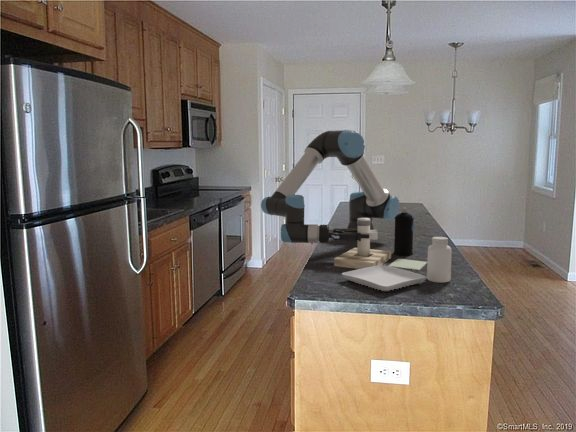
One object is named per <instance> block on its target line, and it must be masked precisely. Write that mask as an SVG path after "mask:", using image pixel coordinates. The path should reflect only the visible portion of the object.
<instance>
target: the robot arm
mask: <svg viewBox="0 0 576 432" xmlns="http://www.w3.org/2000/svg"><path fill="white" fill-rule="evenodd" d="M365 147H366V145H365V139H364V137H363V135H362V134H361V133H360V132H358V131H356V130H352V129H345V130H326V131H324V132H322V133H319V135H318V136H315V138H314V139H312V140H311V142H310V143H308V145H307V146H306V147H305V148H304V150H303V151H304V153H303V155H302V156H301V157H300V158H299V160H298V161H297V163H296V164H295V165H294V166H293V167H292V169H291V170H290V172H289V173H288V174H287V176H286V177H285V178H284V179H283V181H282V182H281V183H280V185H278V187H277V188H276V190H274V192H273V193H272V195H271V196H266V197H264V198H262V200H261V203H260V208H261V211H262V212H263V213H264V214H267V215H270V216H276V217H277V216H278V217H283V218H285V223H282V224H281V226H280V240H281V241H282V242H283V243H291V244H296V243H297V244H300V243H301V244H310V245H314V244H318V243H320V244H329V241H330V239H333V240H334V241H356V242H357V241H358V240H359V241H361V239H370V241H372V240H373V241H374V240H378V238H379V232H378V230H377V229H375V226H374V223H373V219H376V220H377V219H378V220H384V221H385V220H386V221H392V220H395V217H396V215H398V214H399V210H400V200H399V198H398V197H397V196H395V195H391V194H390V192H389V190H387V189H386V188H384V187H382V185H381V184H380V182H379V181H378V179H377V177H376V175H375V174H374V172H373V170H372V168H371V167H370V164H368V161H367V160H366V158H365V157H364V154H365V149H366V148H365ZM327 158H337V159H338V161H339V163H340V164H341V165H342V166H344V167H347V169H348V170H349V172H350V174H351V175H352V176H353V179H354V180H355V182H356V183H357V185H358V186H359V188H360V189H361V191H358V192H355V191H354V192H352V193H350V194H349V200H348V202H349V203H348V204H349V205H348V207H349V211H348V213H349V215H348V217H349V220H348V225H347V227H346V228H338V227H335V228H333V229H330V226H329V224H320V225H319V224H317V223H316V224H315V223H314V224H305V205H306V204H305V199H304V198H305V197H304V196H303V195H302V194H296V193H297V192H298V191H299V189H300V188H301V186H302V185H303V184H304V183H305V182H306V180H307V179H308V177H310V175H311V174H312V172H313V171H314V170H315V168H316V167H317V166H318V164H322V163H323V161H324V160H325V159H327ZM358 218H370V232H361V233H357V229H358V225H357V220H358Z"/></svg>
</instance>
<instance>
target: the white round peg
mask: <svg viewBox="0 0 576 432" xmlns="http://www.w3.org/2000/svg"><path fill="white" fill-rule="evenodd" d="M357 225H358V229H357V233H361V232H370V218H358V220H357ZM356 242H357V243H356V245H357V247H356V248H357V256H361V257H368V256H370V249H371V240H370V239H361V241H359V240H358V241H357V240H356Z"/></svg>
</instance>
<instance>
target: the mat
mask: <svg viewBox="0 0 576 432" xmlns="http://www.w3.org/2000/svg"><path fill="white" fill-rule="evenodd" d="M387 266H390V267H394V268H398V269H402V270H411V269H412V270H413V271H421V270H422V269H423V268H424V267H425V266H427V261H422V260H416V259H415V260H413V259H405V258H397V259H395V260H394V261H393V262H391V263H390V264H388V265H387Z"/></svg>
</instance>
